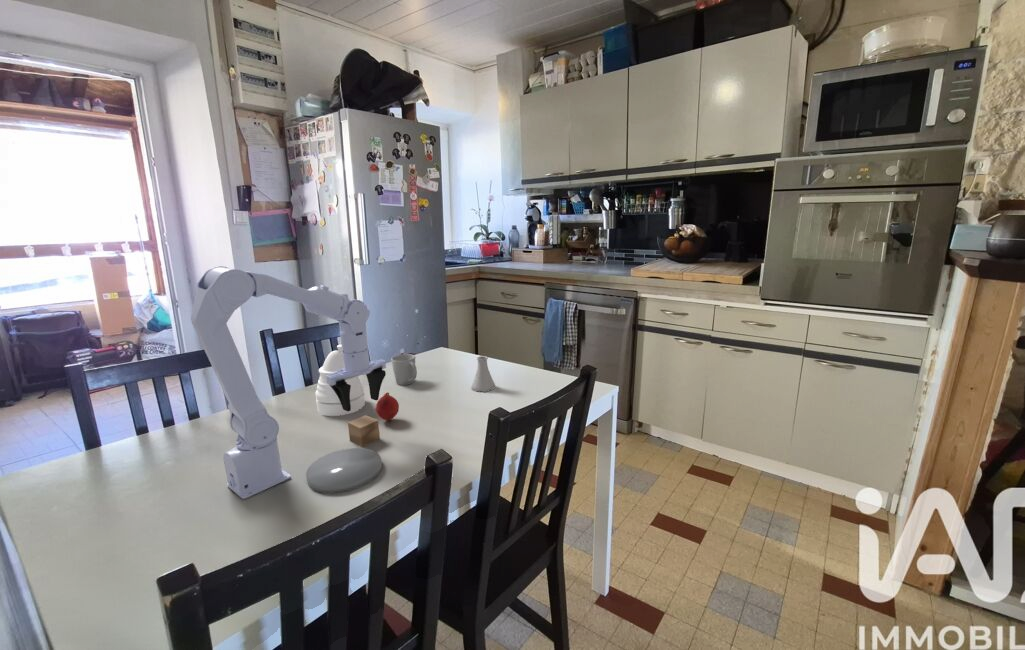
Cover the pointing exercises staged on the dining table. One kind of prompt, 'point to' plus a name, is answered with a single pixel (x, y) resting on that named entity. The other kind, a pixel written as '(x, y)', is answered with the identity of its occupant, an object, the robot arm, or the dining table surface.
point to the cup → (404, 368)
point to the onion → (387, 407)
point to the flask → (483, 376)
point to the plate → (343, 470)
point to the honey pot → (325, 394)
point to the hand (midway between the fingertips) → (361, 404)
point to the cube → (363, 430)
